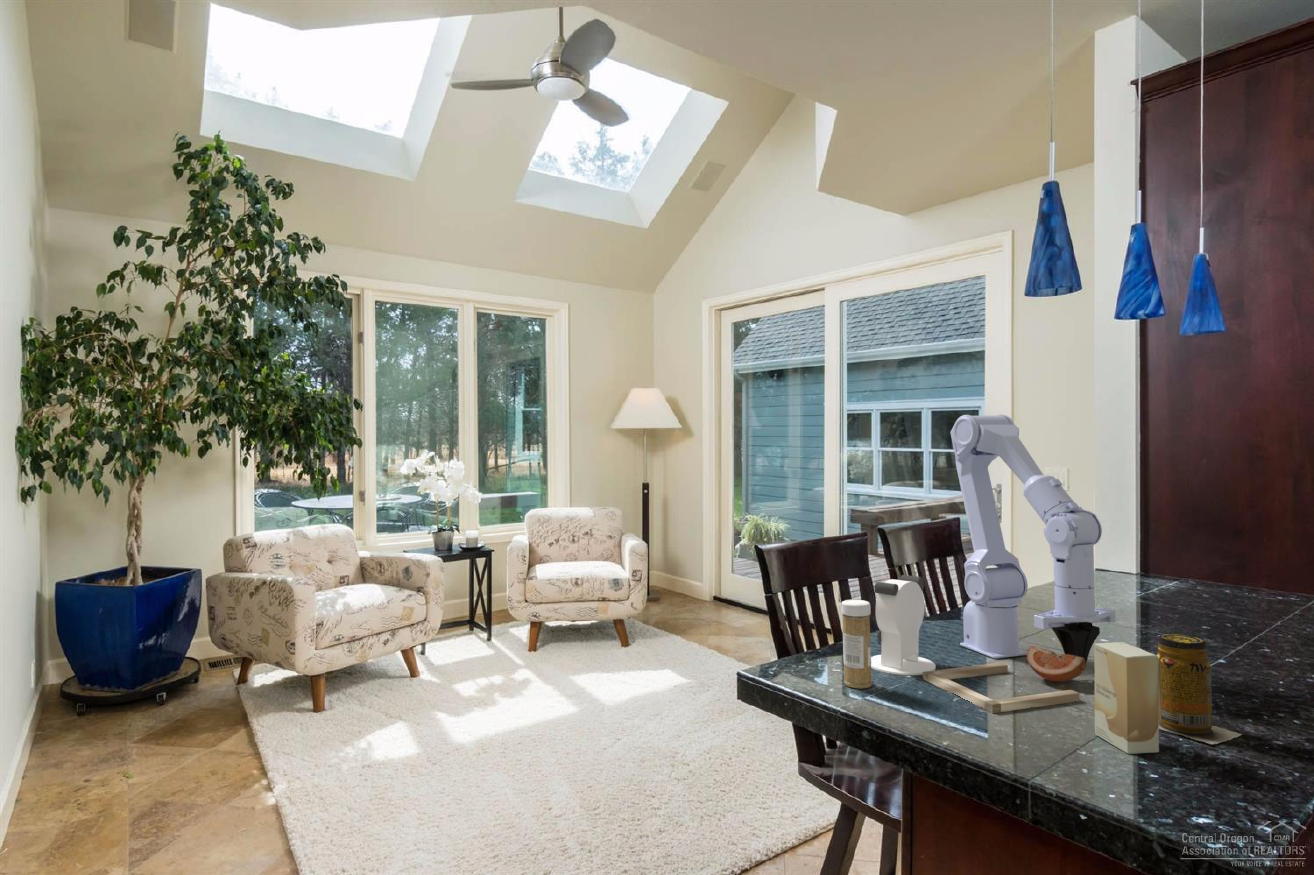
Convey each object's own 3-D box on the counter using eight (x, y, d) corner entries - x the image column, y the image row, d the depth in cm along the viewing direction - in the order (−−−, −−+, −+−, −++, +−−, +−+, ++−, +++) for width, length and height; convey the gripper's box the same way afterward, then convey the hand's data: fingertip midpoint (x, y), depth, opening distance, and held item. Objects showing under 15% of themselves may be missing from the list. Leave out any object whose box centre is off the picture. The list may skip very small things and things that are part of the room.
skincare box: (1093, 735, 94) (1090, 642, 95) (1124, 733, 95) (1121, 640, 95) (1129, 755, 88) (1126, 655, 88) (1162, 753, 88) (1159, 654, 89)
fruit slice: (1093, 684, 114) (1092, 652, 114) (1074, 693, 110) (1073, 660, 110) (1039, 671, 121) (1038, 641, 121) (1019, 680, 117) (1019, 649, 117)
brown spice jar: (878, 685, 115) (876, 602, 116) (859, 691, 113) (857, 605, 113) (856, 678, 119) (854, 597, 119) (837, 683, 117) (835, 601, 117)
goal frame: (922, 679, 118) (922, 671, 118) (1001, 669, 122) (1001, 662, 122) (992, 713, 103) (992, 704, 103) (1079, 700, 107) (1079, 692, 107)
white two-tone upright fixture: (888, 651, 134) (886, 571, 135) (948, 663, 126) (946, 578, 127) (855, 665, 126) (853, 580, 126) (917, 679, 118) (914, 588, 118)
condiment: (1172, 714, 101) (1169, 629, 101) (1242, 735, 93) (1240, 643, 94) (1141, 724, 98) (1138, 636, 98) (1211, 747, 90) (1208, 651, 90)
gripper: (1057, 593, 111) (1060, 681, 111) (1131, 586, 115) (1133, 671, 115) (1023, 585, 118) (1025, 668, 118) (1093, 579, 122) (1095, 659, 121)
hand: (1076, 669), depth 117 cm, fingers closed
